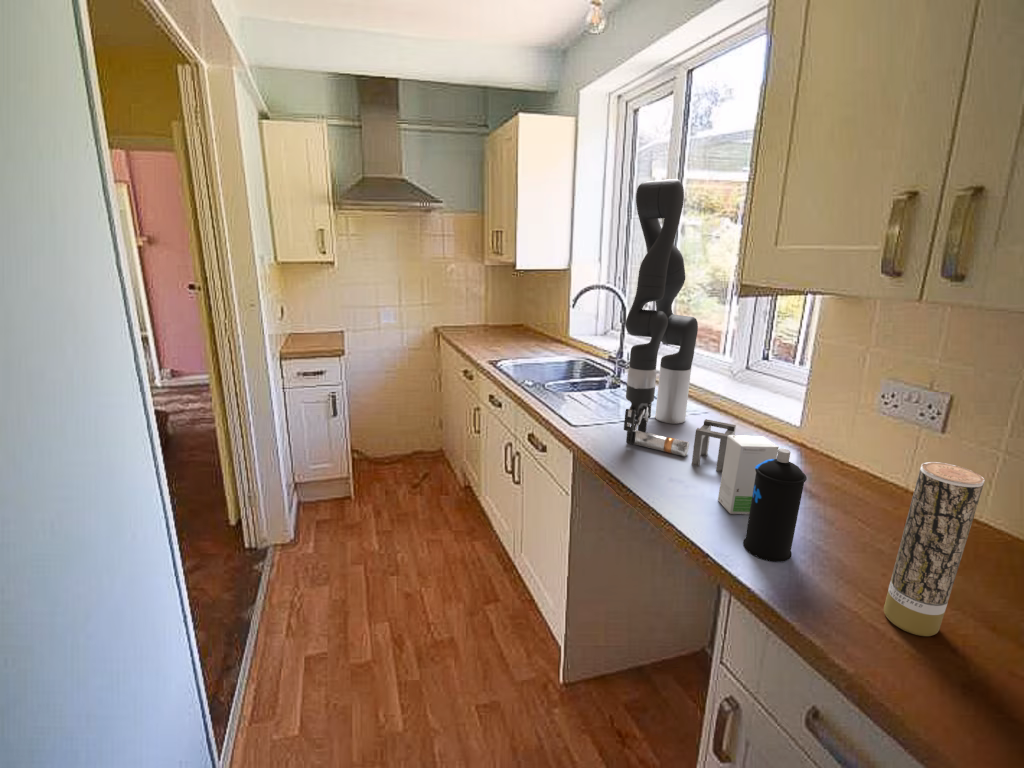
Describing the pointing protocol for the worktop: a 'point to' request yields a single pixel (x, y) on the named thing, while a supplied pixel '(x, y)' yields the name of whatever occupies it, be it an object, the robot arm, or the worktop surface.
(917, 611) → the paper tube
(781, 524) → the aerosol can
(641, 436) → the silver cosmetic tube
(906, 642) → the worktop surface
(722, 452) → the frame
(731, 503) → the skincare box
